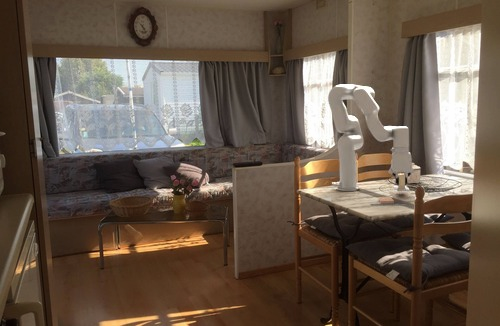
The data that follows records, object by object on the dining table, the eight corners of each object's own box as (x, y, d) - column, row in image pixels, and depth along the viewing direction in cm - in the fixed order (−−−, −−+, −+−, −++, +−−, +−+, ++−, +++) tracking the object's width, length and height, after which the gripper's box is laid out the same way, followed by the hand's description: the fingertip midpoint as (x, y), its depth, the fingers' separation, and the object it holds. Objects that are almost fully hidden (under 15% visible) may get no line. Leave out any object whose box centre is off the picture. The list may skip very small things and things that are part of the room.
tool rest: (393, 198, 222) (393, 197, 221) (389, 193, 234) (389, 191, 234) (413, 198, 220) (413, 196, 220) (408, 192, 233) (408, 191, 232)
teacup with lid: (407, 180, 265) (407, 161, 263) (422, 181, 259) (423, 162, 257) (400, 183, 256) (400, 164, 254) (415, 185, 250) (415, 165, 248)
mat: (371, 206, 208) (371, 205, 207) (367, 199, 223) (367, 198, 223) (405, 206, 205) (405, 205, 205) (399, 198, 221) (399, 197, 220)
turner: (397, 191, 222) (397, 176, 221) (393, 187, 232) (393, 172, 231) (409, 190, 221) (409, 175, 220) (405, 186, 231) (405, 172, 230)
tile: (378, 200, 217) (381, 204, 210) (378, 197, 217) (380, 201, 209) (391, 199, 217) (393, 203, 209) (391, 197, 216) (393, 200, 208)
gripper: (385, 151, 221) (386, 186, 224) (419, 150, 219) (419, 186, 221) (383, 150, 229) (384, 184, 231) (416, 148, 226) (416, 183, 228)
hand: (401, 184), depth 226 cm, fingers closed on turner, 3 cm apart
